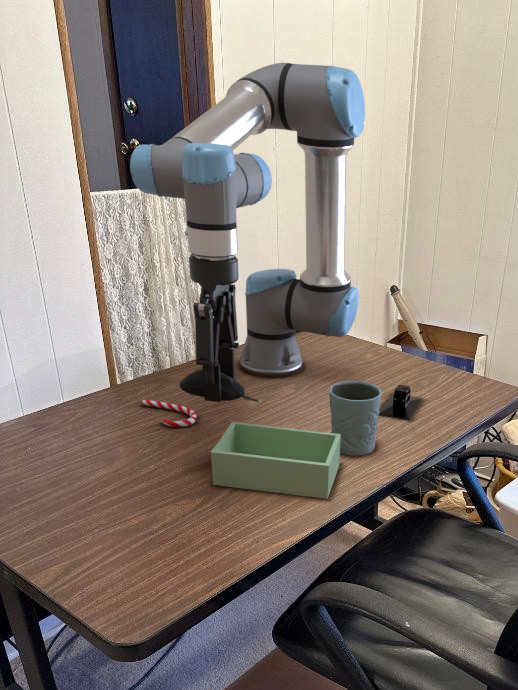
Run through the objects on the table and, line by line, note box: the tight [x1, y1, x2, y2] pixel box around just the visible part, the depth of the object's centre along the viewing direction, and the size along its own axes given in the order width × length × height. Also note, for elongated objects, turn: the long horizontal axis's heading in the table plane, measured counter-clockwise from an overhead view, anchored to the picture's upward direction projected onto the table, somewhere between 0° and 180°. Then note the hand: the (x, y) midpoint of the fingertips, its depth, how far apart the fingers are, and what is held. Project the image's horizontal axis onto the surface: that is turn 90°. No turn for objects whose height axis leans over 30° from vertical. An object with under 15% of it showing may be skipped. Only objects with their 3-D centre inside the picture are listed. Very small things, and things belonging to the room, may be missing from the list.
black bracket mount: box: [378, 384, 423, 421], centre depth 156 cm, size 12×7×5 cm, turn 164°
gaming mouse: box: [179, 368, 259, 403], centre depth 119 cm, size 6×15×4 cm, turn 70°
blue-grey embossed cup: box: [328, 380, 383, 457], centre depth 136 cm, size 10×10×12 cm
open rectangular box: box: [210, 421, 341, 500], centre depth 125 cm, size 13×21×7 cm, turn 83°
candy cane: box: [141, 399, 198, 428], centre depth 144 cm, size 8×1×15 cm
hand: (220, 392), depth 120 cm, fingers closed on gaming mouse, 7 cm apart
